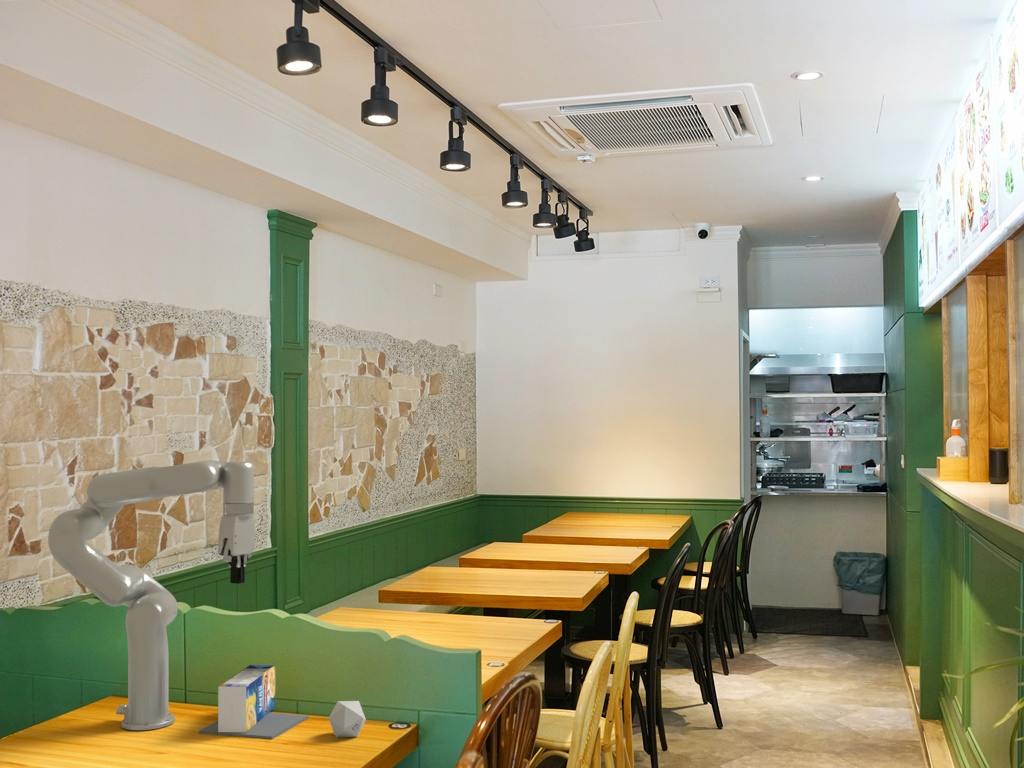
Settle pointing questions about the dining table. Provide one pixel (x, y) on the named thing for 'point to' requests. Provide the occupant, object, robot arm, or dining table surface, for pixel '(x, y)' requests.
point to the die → (347, 719)
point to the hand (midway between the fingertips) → (237, 582)
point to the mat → (262, 726)
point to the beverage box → (246, 698)
